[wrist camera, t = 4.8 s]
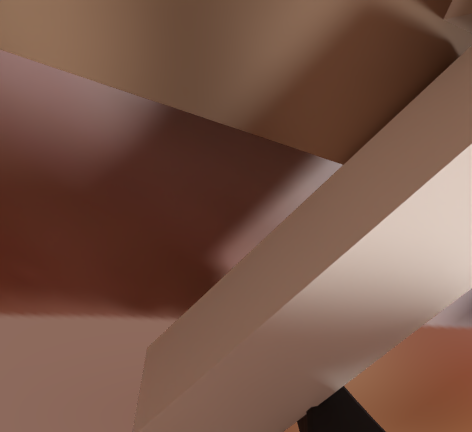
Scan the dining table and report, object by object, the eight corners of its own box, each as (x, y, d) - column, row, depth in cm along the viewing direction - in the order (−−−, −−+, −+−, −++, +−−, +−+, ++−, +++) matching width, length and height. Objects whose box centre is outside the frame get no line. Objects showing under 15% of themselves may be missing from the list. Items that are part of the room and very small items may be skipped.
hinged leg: (470, 46, 7) (650, 28, 4) (520, 130, 8) (696, 161, 5) (146, 348, 9) (126, 468, 6) (213, 389, 10) (220, 511, 7)
